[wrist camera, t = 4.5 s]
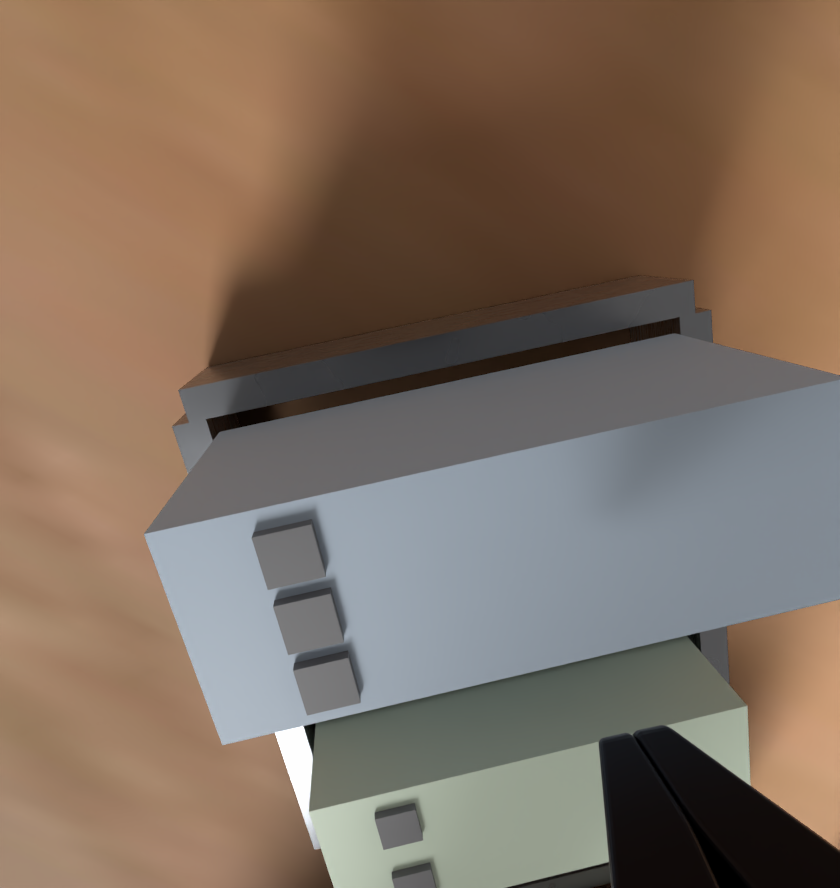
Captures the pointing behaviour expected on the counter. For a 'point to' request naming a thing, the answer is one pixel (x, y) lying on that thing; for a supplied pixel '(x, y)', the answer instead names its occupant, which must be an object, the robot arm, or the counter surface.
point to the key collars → (424, 349)
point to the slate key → (499, 527)
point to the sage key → (505, 769)
